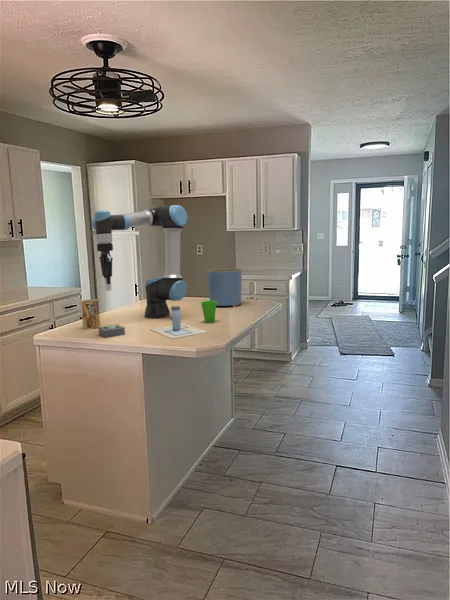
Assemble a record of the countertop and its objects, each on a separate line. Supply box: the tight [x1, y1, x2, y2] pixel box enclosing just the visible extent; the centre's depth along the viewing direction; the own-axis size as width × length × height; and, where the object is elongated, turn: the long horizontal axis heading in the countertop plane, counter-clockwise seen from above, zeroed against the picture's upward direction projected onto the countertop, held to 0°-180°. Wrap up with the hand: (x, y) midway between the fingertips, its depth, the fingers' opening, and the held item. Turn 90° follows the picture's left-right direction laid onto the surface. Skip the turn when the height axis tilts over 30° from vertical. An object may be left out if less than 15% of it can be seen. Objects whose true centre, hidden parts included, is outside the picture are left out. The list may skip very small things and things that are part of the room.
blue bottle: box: [170, 305, 182, 331], centre depth 232 cm, size 4×4×12 cm
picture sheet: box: [149, 323, 209, 340], centre depth 233 cm, size 26×20×1 cm
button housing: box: [98, 324, 126, 338], centre depth 231 cm, size 10×10×4 cm
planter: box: [206, 267, 243, 308], centre depth 303 cm, size 23×23×24 cm
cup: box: [200, 300, 217, 324], centre depth 252 cm, size 9×9×11 cm
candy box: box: [80, 298, 101, 330], centre depth 249 cm, size 9×4×15 cm, turn 116°
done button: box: [107, 324, 117, 329], centre depth 231 cm, size 5×5×4 cm
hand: (108, 290), depth 228 cm, fingers closed
